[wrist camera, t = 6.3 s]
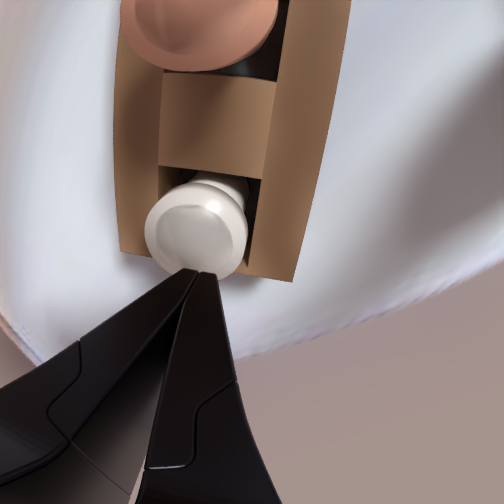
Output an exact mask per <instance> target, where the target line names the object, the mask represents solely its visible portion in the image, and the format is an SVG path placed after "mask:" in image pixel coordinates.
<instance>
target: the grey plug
mask: <svg viewBox="0 0 504 504" xmlns="http://www.w3.org/2000/svg"><path fill="white" fill-rule="evenodd" d="M248 198H249V186H248V183H247V180H246V178H245V177H244V176H238V175H231V174H225V173H217V172H210V171H203V170H198V171H197V172H196V173H195V175H194V176H193V177H192V178H191V179H190V180H189V182H188V183H186V184H182V185H179V186H176V187H174V188H172V189H171V190H169V191H168V192H167V193H166V194H165V195H164V196H163V197H162V198H161V199H160V200H159V201H158V202H157V203H156V204H155V206H154V207H153V208H152V209H151V211H150V212H149V214H148V216H147V219H146V222H145V232H144V234H145V240H146V244H147V247H148V249H149V252H150V253H151V255H152V257H153V258H154V260H155V261H156V262H157V263H158V264H159V265H160V266H161V267H162V268H163V269H164V270H165V271H167V272H168V273H170V274H171V275H173V274H175V273H176V272H177V271H179V270H180V269H182V268H189V269H194V270H198V271H199V273H200V272H201V271H205V272H210V273H215V274H216V275H217V278H218V281H219V280H221V279H223V278H226V277H227V276H229V275H230V274H231V273H232V272H234V271H235V269H236V268H237V267H238V266H239V264H240V262H241V260H242V258H243V254H244V250H245V246H246V242H247V237H248V225H247V220H246V217H245V215H244V211H245V208H246V205H247V201H248Z"/></svg>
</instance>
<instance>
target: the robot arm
mask: <svg viewBox="0 0 504 504" xmlns="http://www.w3.org/2000/svg"><path fill="white" fill-rule="evenodd" d="M146 453H147V455H146ZM145 456H146V460H145V465H144V470H145V471H144V472H143V476H142V480H141V485H140V489H139V492H138V496H137V499H136V502H135V504H282V502H281V500H280V498H279V496H278V494H277V492H276V490H275V487H274V485H273V483H272V480H271V478H270V476H269V474H268V471H267V469H266V467H265V465H264V462H263V460H262V457H261V455H260V453H259V450H258V448H257V445H256V443H255V440H254V438H253V435H252V432H251V429H250V426H249V423H248V421H247V417H246V414H245V410H244V406H243V402H242V398H241V394H240V389H239V385H238V383H237V376H236V372H235V367H234V362H233V357H232V352H231V347H230V342H229V337H228V332H227V327H226V321H225V316H224V311H223V306H222V300H221V295H220V290H219V284H218V278H217V275H216V274H215V273H210V272H205V271H201V272H200V273H199V271H198V270H194V269H189V268H182V269H180V270H179V271H177V272H176V273H175V274H173V275H172V276H170V277H169V278H167V279H166V280H164V281H163V282H161V283H160V284H158V285H157V286H155V287H154V288H152V289H151V290H149V291H148V292H146V293H145V294H143V295H142V296H141V297H139V298H138V299H136V300H135V301H133V302H132V303H130V304H129V305H127V306H126V307H124V308H123V309H122V310H120V311H119V312H117V313H116V314H114V315H113V316H111V317H110V318H109V319H107V320H106V321H104V322H103V323H101V324H100V325H98V326H97V327H96V328H94V329H93V330H91V331H90V332H88V333H87V334H86V335H84V336H83V337H81V338H80V341H79V340H77V341H75V342H74V343H73V344H71V345H70V346H68V347H67V348H66V349H64V350H63V351H61V352H60V353H58V354H57V355H55V356H54V357H52V358H51V359H49V360H48V361H46V362H45V363H43V364H41V365H40V366H38V367H36V368H35V369H33V370H31V371H30V372H28V373H26V374H24V375H23V376H21V377H19V378H18V379H16V380H14V381H12V382H10V383H9V384H7V385H5V386H3V387H2V388H0V504H128V502H129V500H130V495H131V494H132V491H133V488H134V486H135V483H136V480H137V477H138V475H139V472H140V469H141V467H142V464H143V461H144V459H145Z"/></svg>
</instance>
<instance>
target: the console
mask: <svg viewBox="0 0 504 504" xmlns="http://www.w3.org/2000/svg"><path fill="white" fill-rule="evenodd" d="M350 7H351V0H290V3H289V9H288V15H287V21H286V28H285V34H284V40H283V47H282V53H281V59H280V66H279V72H278V78H277V80H270V79H263V78H256V77H248V76H239V75H229V74H218V73H204V72H190V71H173V70H169V69H164V68H161V67H159V66H156V65H154V64H152V63H150V62H148V61H146V60H145V59H143V58H142V57H141V56H139V55H138V54H137V53H136V52H135V51H134V50H133V48H132V47H131V46H130V45H129V43H128V41H127V39H126V38H125V35H124V33H123V30H122V26H121V21H120V29H119V37H118V47H117V58H116V71H115V88H114V119H113V146H114V179H115V197H116V211H117V223H118V233H119V243H120V251H121V252H125V253H130V254H136V255H141V256H146V257H151V258H153V257H152V255H151V253H150V252H149V249H148V247H147V244H146V240H145V234H144V232H145V222H146V219H147V216H148V214H149V212H150V211H151V209H152V208H153V207H154V206H155V204H156V203H157V202H158V201H159V200H160V199H161V198H162V197H163V196H164V195H165V194H166V193H167V192H168V191H169V190H171V189H172V188H174V187H176V186H179V185H181V178H182V168H187V169H195V170H203V171H210V172H217V173H225V174H231V175H238V176H245V177H251V178H257V179H262V180H261V186H260V193H259V199H258V206H257V212H256V219H255V225H254V231H250V230H248V237H247V242H246V246H245V250H244V254H243V258H242V260H241V262H240V264H239V266H238V267H237V268H236V269H235V271H234V272H233V273H239V274H245V275H251V276H256V277H262V278H268V279H274V280H280V281H286V282H292V281H293V277H294V273H295V269H296V265H297V262H298V258H299V254H300V250H301V246H302V242H303V238H304V234H305V230H306V226H307V222H308V218H309V214H310V210H311V205H312V201H313V197H314V193H315V188H316V184H317V180H318V175H319V171H320V166H321V162H322V157H323V153H324V148H325V143H326V139H327V134H328V129H329V124H330V119H331V114H332V109H333V104H334V99H335V94H336V89H337V84H338V78H339V73H340V67H341V62H342V56H343V50H344V44H345V38H346V32H347V26H348V20H349V13H350Z"/></svg>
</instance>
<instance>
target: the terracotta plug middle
mask: <svg viewBox="0 0 504 504" xmlns="http://www.w3.org/2000/svg"><path fill="white" fill-rule="evenodd" d="M278 5H279V2H278V0H121V6H120V21H121V26H122V30H123V33H124V35H125V38H126V39H127V41H128V43H129V45H130V46H131V47H132V48H133V50H134V51H135V52H136V53H137V54H138V55H139V56H141V57H142V58H143V59H145V60H146V61H148V62H150V63H152V64H154V65H156V66H159V67H161V68H164V69H169V70H173V71H209V70H216V69H220V68H224V67H227V66H229V65H232V64H234V63H236V62H238V61H241V60H242V59H245V58H247V57H249V56H251V55H253V54H255V53H256V52H257V51H258V50H259V49H260V48H261V47H262V46H263V45H264V43H265V42H266V40H267V38H268V36H269V33H270V32H271V30H272V28H273V26H274V23H275V21H276V18H277V13H278Z"/></svg>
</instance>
